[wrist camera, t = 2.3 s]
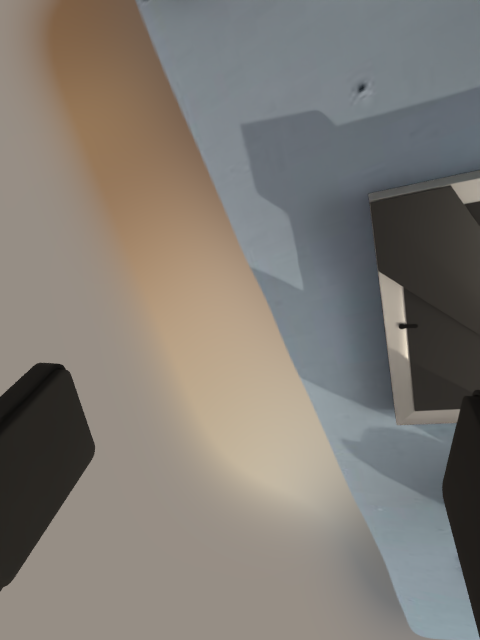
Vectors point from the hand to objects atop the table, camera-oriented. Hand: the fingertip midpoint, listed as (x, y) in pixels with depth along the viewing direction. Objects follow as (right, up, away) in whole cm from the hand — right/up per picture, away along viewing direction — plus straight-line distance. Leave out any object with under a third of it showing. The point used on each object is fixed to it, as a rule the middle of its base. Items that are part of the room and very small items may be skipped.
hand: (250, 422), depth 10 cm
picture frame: (+19, +4, +22) cm, 30 cm away
